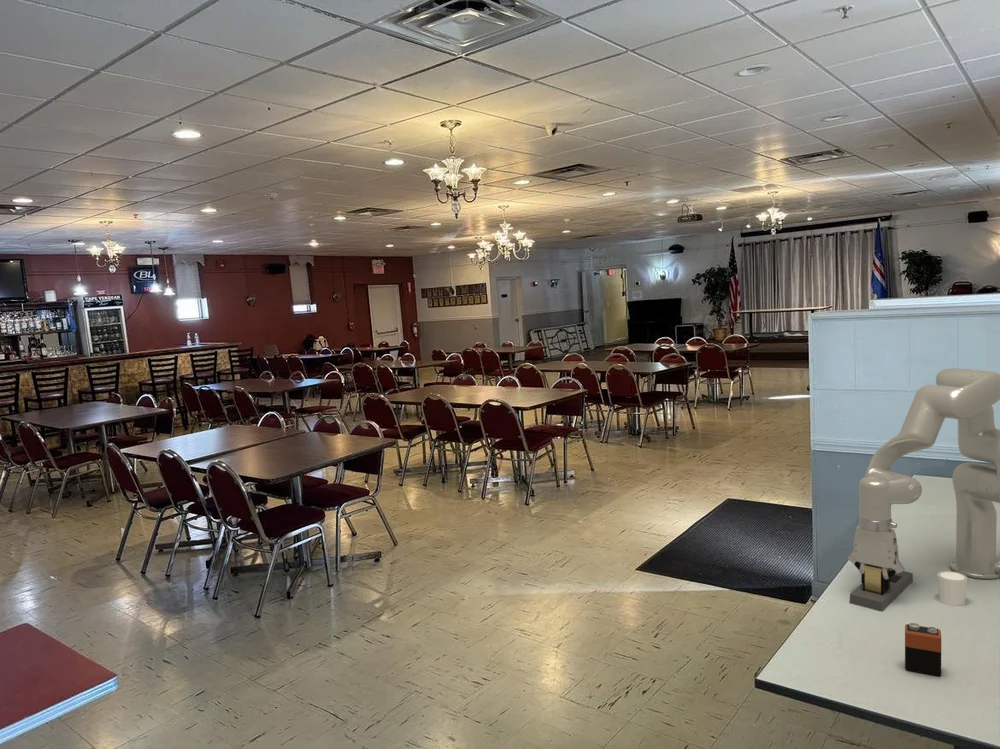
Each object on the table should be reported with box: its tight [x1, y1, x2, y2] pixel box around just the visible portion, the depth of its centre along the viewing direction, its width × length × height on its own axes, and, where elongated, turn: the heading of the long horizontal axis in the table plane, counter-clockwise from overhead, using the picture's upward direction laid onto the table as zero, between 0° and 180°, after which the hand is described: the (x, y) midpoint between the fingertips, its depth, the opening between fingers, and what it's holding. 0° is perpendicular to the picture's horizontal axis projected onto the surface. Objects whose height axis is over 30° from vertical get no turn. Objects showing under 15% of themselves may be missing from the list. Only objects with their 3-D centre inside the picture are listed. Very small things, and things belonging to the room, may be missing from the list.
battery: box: [904, 622, 942, 677], centre depth 154 cm, size 4×7×10 cm, turn 60°
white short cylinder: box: [936, 570, 969, 607], centre depth 184 cm, size 7×7×7 cm
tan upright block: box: [864, 564, 886, 595], centre depth 188 cm, size 4×4×8 cm
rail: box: [849, 568, 914, 612], centre depth 192 cm, size 8×24×2 cm, turn 133°
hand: (875, 588), depth 189 cm, fingers closed on tan upright block, 4 cm apart
